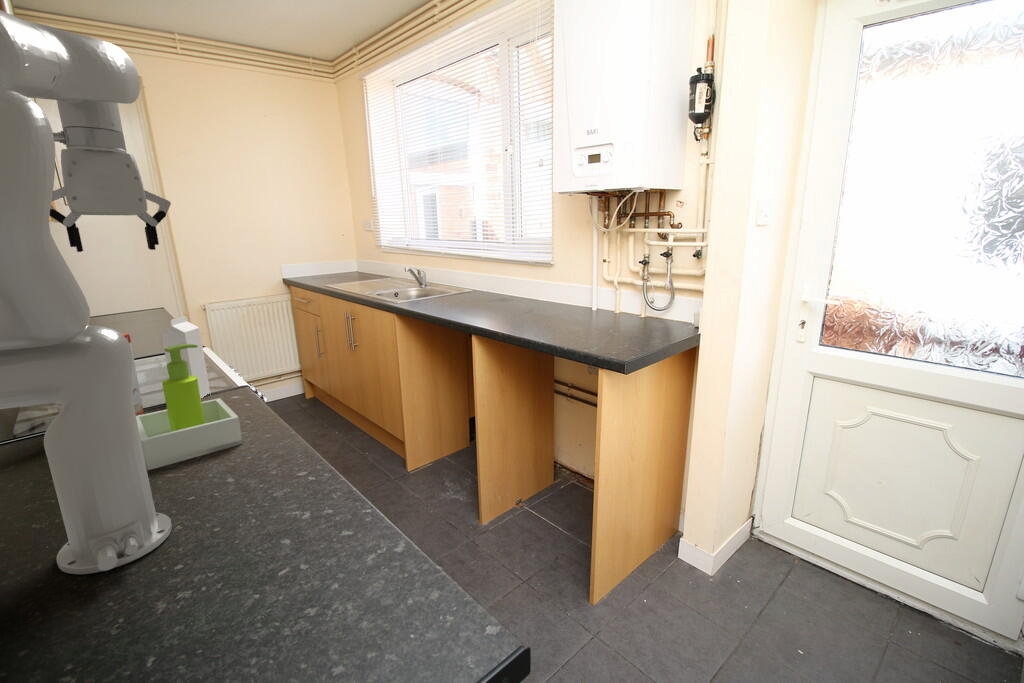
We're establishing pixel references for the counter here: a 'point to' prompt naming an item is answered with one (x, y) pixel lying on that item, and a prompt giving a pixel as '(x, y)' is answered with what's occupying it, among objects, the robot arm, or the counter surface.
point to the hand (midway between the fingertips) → (117, 250)
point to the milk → (188, 349)
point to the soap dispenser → (182, 392)
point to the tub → (187, 435)
